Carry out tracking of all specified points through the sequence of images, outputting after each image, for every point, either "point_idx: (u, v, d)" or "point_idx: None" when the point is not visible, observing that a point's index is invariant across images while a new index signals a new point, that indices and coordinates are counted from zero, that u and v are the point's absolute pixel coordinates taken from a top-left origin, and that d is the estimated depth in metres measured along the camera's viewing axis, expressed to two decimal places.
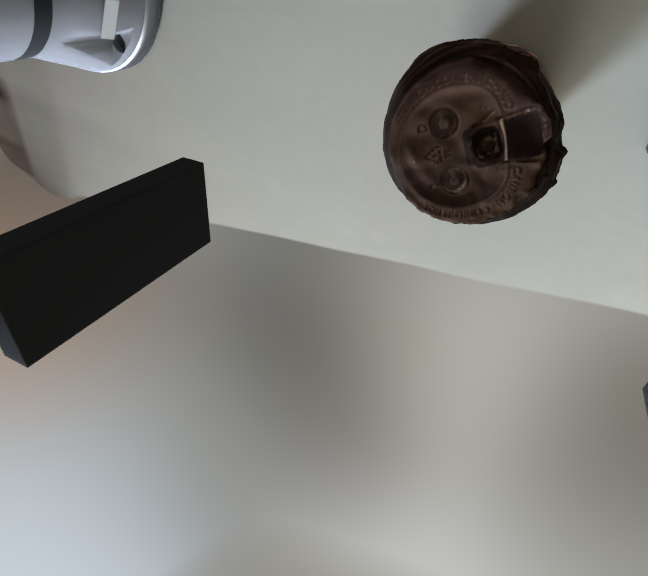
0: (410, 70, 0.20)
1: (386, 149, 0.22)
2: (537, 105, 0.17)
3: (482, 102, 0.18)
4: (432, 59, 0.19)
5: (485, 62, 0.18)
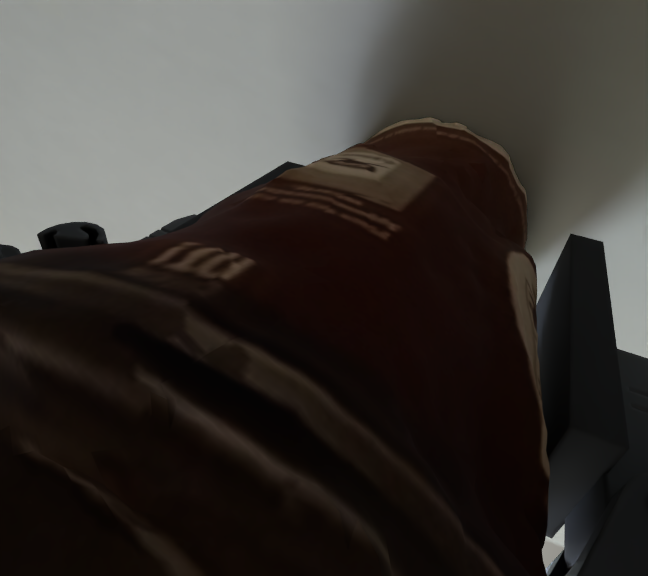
0: None
1: None
2: None
3: None
4: None
5: (46, 497, 0.03)
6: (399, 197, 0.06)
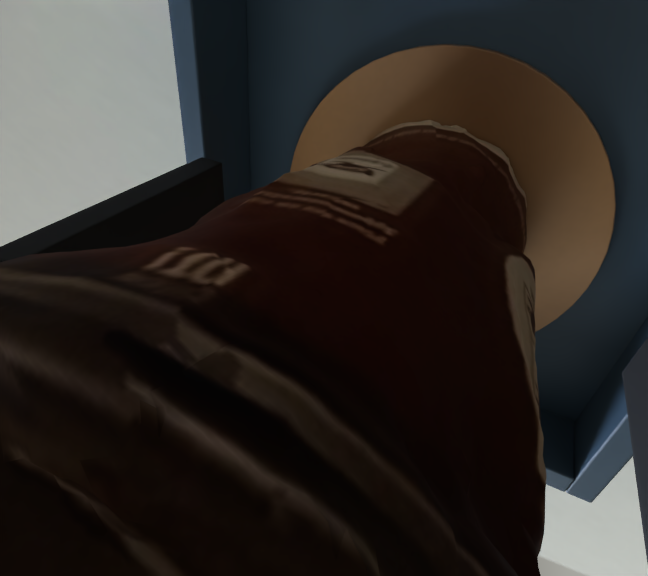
0: None
1: None
2: None
3: None
4: None
5: (35, 503, 0.03)
6: (396, 201, 0.06)
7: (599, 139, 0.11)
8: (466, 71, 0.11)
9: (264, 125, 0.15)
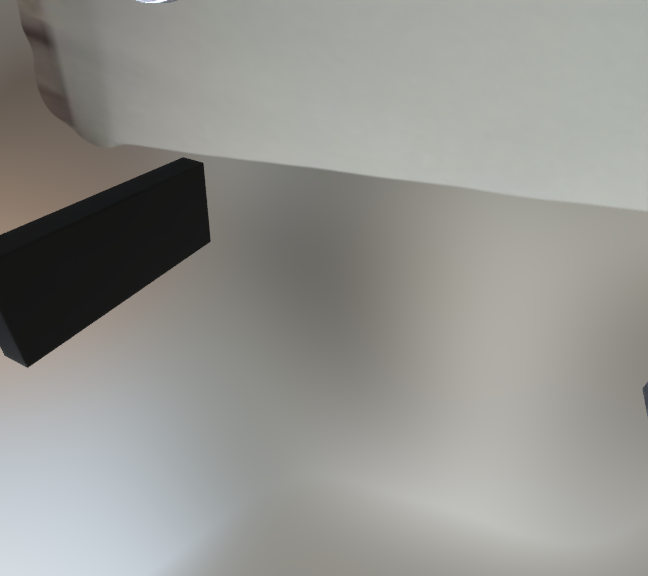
0: None
1: None
2: None
3: None
4: None
5: None
6: None
7: None
8: None
9: None
